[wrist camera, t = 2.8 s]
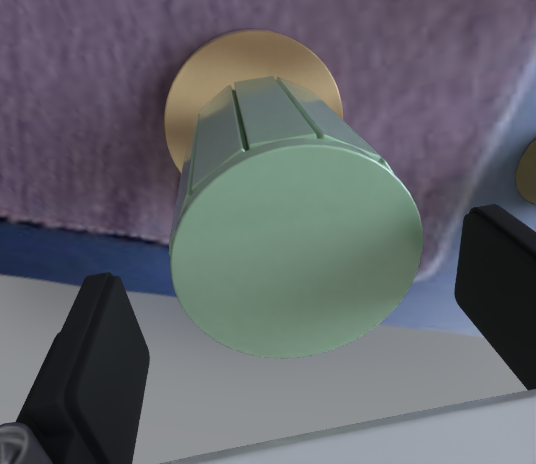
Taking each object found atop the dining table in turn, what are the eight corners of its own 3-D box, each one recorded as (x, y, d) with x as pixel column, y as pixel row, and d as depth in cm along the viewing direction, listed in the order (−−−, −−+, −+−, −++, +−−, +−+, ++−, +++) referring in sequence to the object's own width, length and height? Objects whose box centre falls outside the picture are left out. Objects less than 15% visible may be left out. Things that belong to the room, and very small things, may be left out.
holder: (144, 44, 21) (52, 110, 9) (333, 15, 21) (489, 40, 9) (188, 213, 26) (168, 399, 14) (341, 187, 26) (448, 347, 14)
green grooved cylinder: (170, 91, 17) (135, 172, 9) (334, 65, 17) (433, 122, 10) (205, 233, 21) (201, 377, 13) (340, 210, 21) (416, 336, 13)
